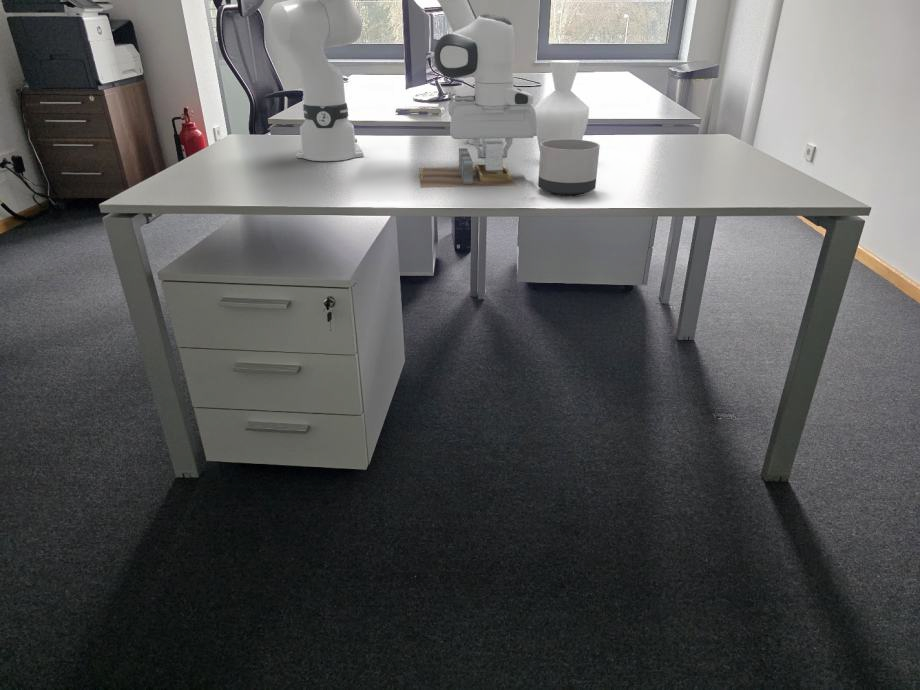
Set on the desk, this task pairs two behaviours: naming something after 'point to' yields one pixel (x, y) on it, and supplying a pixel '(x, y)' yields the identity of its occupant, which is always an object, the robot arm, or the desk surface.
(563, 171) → the planter
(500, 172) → the board
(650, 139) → the desk surface
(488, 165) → the bar
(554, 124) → the vase
